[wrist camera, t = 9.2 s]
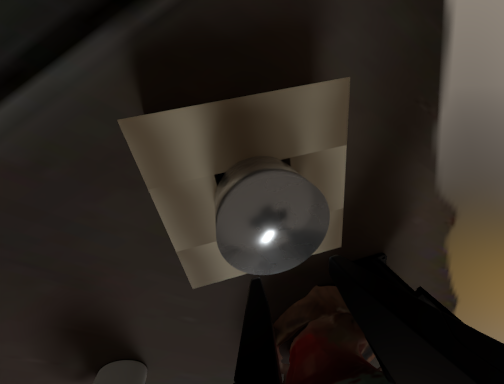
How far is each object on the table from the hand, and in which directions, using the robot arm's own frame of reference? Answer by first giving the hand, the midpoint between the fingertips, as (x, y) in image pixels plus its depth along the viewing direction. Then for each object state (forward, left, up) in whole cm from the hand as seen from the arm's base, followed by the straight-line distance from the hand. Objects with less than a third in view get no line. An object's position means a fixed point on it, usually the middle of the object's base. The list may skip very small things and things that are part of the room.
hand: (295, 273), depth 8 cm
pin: (0, 0, -12) cm, 12 cm away
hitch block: (0, 0, -12) cm, 12 cm away
